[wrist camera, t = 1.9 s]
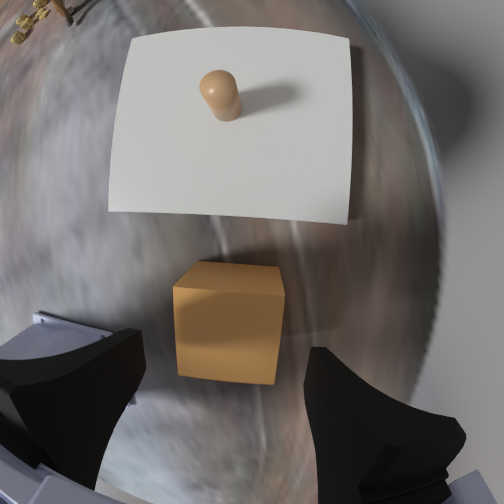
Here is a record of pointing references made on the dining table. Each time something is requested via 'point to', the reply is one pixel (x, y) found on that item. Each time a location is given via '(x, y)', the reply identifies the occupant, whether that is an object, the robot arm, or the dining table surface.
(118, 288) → the dining table surface
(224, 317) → the orange cube
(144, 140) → the plate
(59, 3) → the lion figurine
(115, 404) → the robot arm
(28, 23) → the dice set
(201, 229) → the dining table surface
